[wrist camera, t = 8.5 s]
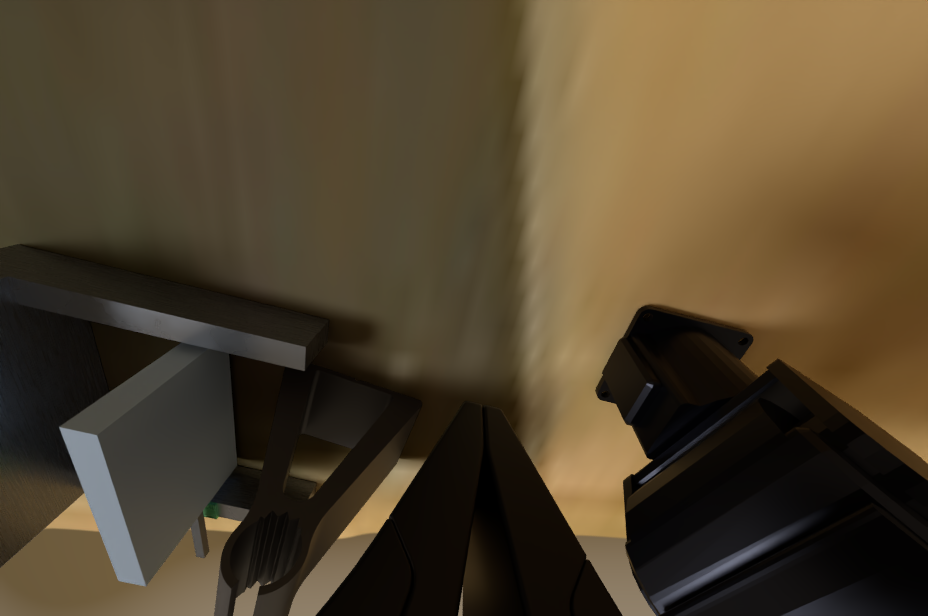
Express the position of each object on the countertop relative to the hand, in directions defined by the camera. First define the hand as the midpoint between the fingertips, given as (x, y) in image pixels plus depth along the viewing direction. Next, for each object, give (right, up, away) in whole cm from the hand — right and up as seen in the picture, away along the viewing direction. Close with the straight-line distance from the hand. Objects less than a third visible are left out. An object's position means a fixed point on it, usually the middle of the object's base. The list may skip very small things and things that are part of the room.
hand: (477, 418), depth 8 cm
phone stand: (-8, -4, +17) cm, 19 cm away
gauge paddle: (-17, -7, +17) cm, 26 cm away
